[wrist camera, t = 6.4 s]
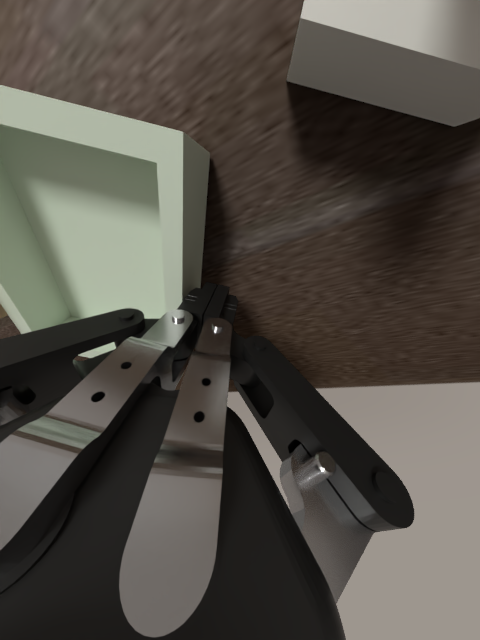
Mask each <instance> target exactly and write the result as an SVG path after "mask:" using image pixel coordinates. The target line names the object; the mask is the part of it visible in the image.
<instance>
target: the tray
mask: <svg viewBox="0 0 480 640" xmlns="http://www.w3.org/2000/svg"><path fill="white" fill-rule="evenodd" d="M209 162H210V153H209V152H208V151H207V150H205V149H204V148H203V147H202V146H200V145H199V144H198V143H197V142H195V141H194V140H193V139H192V138H190V137H189V136H188V135H186V134H185V133H184V132H182V131H178V130H174V129H170V128H166V127H162V126H158V125H154V124H150V123H147V122H143V121H139V120H135V119H131V118H127V117H123V116H119V115H115V114H111V113H107V112H104V111H100V110H96V109H92V108H88V107H84V106H80V105H76V104H72V103H68V102H65V101H61V100H57V99H53V98H49V97H45V96H41V95H37V94H33V93H29V92H25V91H22V90H18V89H14V88H10V87H6V86H2V85H0V304H1V305H2V307H3V308H4V310H5V311H6V312H7V314H8V315H9V317H10V318H11V320H12V321H13V322H14V324H15V325H16V327H17V328H18V330H19V331H20V332H21V334H24V333H28V332H32V331H36V330H40V329H44V328H48V327H52V326H56V325H60V324H64V323H68V322H72V321H76V320H80V319H84V318H88V317H92V316H96V315H100V314H104V313H107V312H111V311H115V310H119V309H125V308H133V309H138V310H140V311H142V312H143V314H144V318H145V319H160V318H161V317H162V316H163V315H164V314H165V313H166V312H168V311H171V310H177V308H178V307H179V306H180V304H181V303H182V302H183V300H184V299H185V297H186V296H187V295H188V293H189V292H190V291H191V290H193V289H195V288H200V287H201V273H202V259H203V245H204V231H205V218H206V204H207V190H208V176H209ZM114 349H116V346H115V343H114V342H112V343H110V344H107V345H104V346H101V347H98V348H95V349H92V350H90V351H87V352H84V353H81V354H79V356H84V357H89V358H93V357H95V356H98V355H101V354H103V353H106V352H109V351H111V350H114ZM193 350H194V349H193ZM183 373H184V372H183ZM182 375H183V374H182ZM181 377H182V376H181Z"/></svg>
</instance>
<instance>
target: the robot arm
mask: <svg viewBox="0 0 480 640" xmlns="http://www.w3.org/2000/svg"><path fill="white" fill-rule="evenodd" d="M228 294H229V287H227V286H222V285H218V284H213V283H209V282H206V283H205V285H204V286H203V288H202V289H201V288H195V289H193V290H191V291H190V292H189V293H188V295H187V296H186V297H185V299H184V300H183V302H182V303H181V304H180V306H179V307H178V308H177V310H171V311H168V312H166V313H165V314H164V315H163V316H162V317H161V318H160V319H145V318H144V314H143V312H142V311H140V310H138V309H133V308H125V309H119V310H115V311H111V312H107V313H104V314H100V315H96V316H92V317H88V318H84V319H80V320H76V321H72V322H68V323H64V324H60V325H56V326H52V327H48V328H44V329H40V330H36V331H32V332H28V333H24V334H20V335H16V336H12V337H8V338H4V339H0V640H346V638H345V634H344V630H343V626H342V623H341V619H340V615H339V612H338V609H337V606H336V603H337V601H338V599H339V597H340V595H341V594H342V592H343V590H344V588H345V586H346V584H347V582H348V580H349V579H350V577H351V575H352V573H353V571H354V569H355V567H356V565H357V563H358V561H359V559H360V557H361V556H362V554H363V552H364V550H365V548H366V546H367V544H368V542H369V540H370V539H371V537H372V535H373V533H375V532H380V531H387V530H394V529H401V528H407V527H409V526H410V525H411V524H412V523H413V520H414V508H413V503H412V500H411V498H410V496H409V493H408V491H407V489H406V487H405V486H404V484H403V483H402V481H401V480H400V478H399V477H398V476H397V475H396V474H395V472H394V471H393V470H392V469H391V468H390V467H389V466H388V465H387V464H386V463H385V462H384V461H383V460H382V459H381V458H380V457H379V455H378V454H377V453H376V452H375V451H374V450H373V449H372V448H371V447H370V446H369V445H368V444H367V443H366V442H365V441H364V440H363V439H362V438H361V437H360V435H359V434H357V432H356V431H355V430H354V429H353V428H352V427H351V426H350V425H349V424H348V423H347V422H346V421H345V420H344V419H343V418H342V417H341V416H340V415H339V414H338V412H337V411H336V410H335V409H334V408H333V407H332V406H331V405H330V404H329V403H328V402H327V401H326V400H325V399H324V398H323V397H322V396H321V395H320V393H318V391H317V390H316V389H315V388H314V387H313V386H312V385H311V384H310V383H309V382H308V381H307V380H306V379H305V378H304V377H303V376H302V375H301V374H300V372H299V371H298V370H297V369H296V368H295V367H294V366H293V365H292V364H291V363H290V362H289V361H288V360H287V359H286V358H285V357H284V356H283V355H282V354H281V353H280V351H279V350H278V349H277V348H276V347H275V346H274V345H273V344H272V343H271V342H270V341H269V340H267V339H266V338H264V337H261V336H250V337H248V338H247V339H245V338H243V337H241V336H239V335H238V334H237V333H236V332H235V331H234V329H233V322H234V318H235V313H236V308H237V304H238V300H237V298H236V296H232V295H228ZM112 342H114V343H115V346H116V349H114V350H111V351H109V352H106V353H103V354H101V355H98V356H95V357H93V358H90V359H87V360H85V361H75V360H74V358H75V357H76V356H78V355H79V354H81V353H84V352H87V351H90V350H92V349H95V348H98V347H101V346H104V345H107V344H110V343H112ZM194 348H196V350H195V352H194V351H193V349H194ZM187 365H188V367H187ZM186 367H187V370H186V373H185V376H184V379H183V382H182V385H181V388H180V390H175V387H176V385H177V383H178V382H179V380H180V378H181V376H182V374H183V372H184V370H185V369H186ZM229 378H231V379H232V380H234V385H235V387H236V388H237V390H238V392H239V393H240V395H241V396H242V398H243V400H244V401H245V403H246V404H247V406H248V408H249V409H250V411H251V412H252V414H253V416H254V417H255V419H256V420H257V422H258V424H259V425H260V427H261V428H262V430H263V432H264V433H265V435H266V436H267V438H268V440H269V441H270V443H271V444H272V446H273V448H274V449H275V451H276V453H277V454H278V455H279V457H280V459H281V461H282V465H281V468H280V480H281V484H282V487H283V490H284V492H285V494H286V496H287V499H288V503H289V507H290V510H289V508H288V506H287V504H286V502H285V501H284V499H283V497H282V495H281V493H280V491H279V489H278V487H277V485H276V483H275V481H274V480H273V478H272V476H271V474H270V472H269V470H268V468H267V466H266V464H265V463H264V461H263V459H262V457H261V455H260V453H259V451H258V449H257V447H256V445H255V444H254V442H253V440H252V438H251V436H250V434H249V432H248V430H247V428H246V427H245V425H244V423H243V422H242V420H241V419H240V418H239V417H238V415H237V414H236V413H235V412H234V411H233V410H231V409H230V408H229V407H227V398H228V386H229Z"/></svg>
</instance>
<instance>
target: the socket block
mask: <svg viewBox="0 0 480 640" xmlns="http://www.w3.org/2000/svg"><path fill="white" fill-rule="evenodd" d="M286 81H288V82H292V83H295V84H299V85H303V86H306V87H310V88H314V89H317V90H321V91H325V92H328V93H332V94H336V95H339V96H343V97H347V98H350V99H354V100H358V101H361V102H365V103H369V104H372V105H376V106H380V107H383V108H387V109H391V110H394V111H398V112H402V113H405V114H409V115H413V116H417V117H420V118H424V119H428V120H431V121H435V122H439V123H442V124H446V125H450V126H453V127H455V126H458V125H461V124H464V123H467V122H470V121H473V120H476V119H479V118H480V0H304V3H303V8H302V13H301V17H300V22H299V26H298V31H297V35H296V40H295V44H294V49H293V53H292V58H291V62H290V67H289V71H288V76H287V80H286Z"/></svg>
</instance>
